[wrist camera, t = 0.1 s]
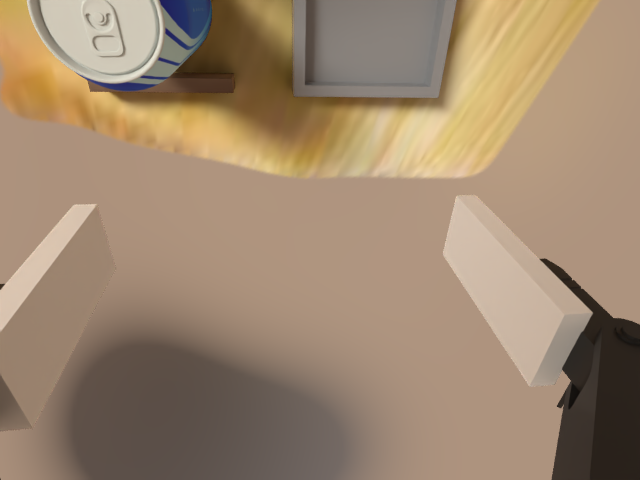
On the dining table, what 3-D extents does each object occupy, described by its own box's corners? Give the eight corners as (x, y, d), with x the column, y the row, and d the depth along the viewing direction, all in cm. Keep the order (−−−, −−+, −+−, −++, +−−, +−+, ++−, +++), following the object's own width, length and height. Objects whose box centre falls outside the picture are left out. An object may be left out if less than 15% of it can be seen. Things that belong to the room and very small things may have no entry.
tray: (292, -95, 32) (293, -100, 30) (460, -84, 33) (473, -88, 31) (292, 90, 39) (293, 96, 37) (429, 92, 41) (438, 97, 39)
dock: (53, -105, 30) (37, -112, 28) (221, -94, 31) (218, -100, 29) (100, 85, 37) (90, 91, 35) (234, 86, 38) (233, 92, 36)
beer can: (92, 12, 34) (-20, 31, 20) (138, -86, 31) (42, -138, 17) (183, 77, 37) (137, 129, 24) (232, -5, 34) (212, 3, 21)
